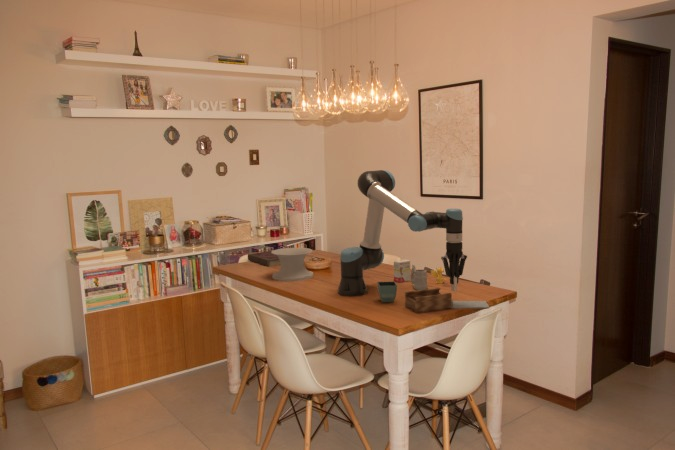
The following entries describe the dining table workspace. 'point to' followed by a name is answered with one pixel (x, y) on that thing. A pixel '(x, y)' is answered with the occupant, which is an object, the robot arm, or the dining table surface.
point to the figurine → (438, 275)
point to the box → (427, 300)
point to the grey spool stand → (292, 264)
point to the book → (264, 258)
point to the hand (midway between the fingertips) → (454, 290)
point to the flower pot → (387, 291)
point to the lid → (469, 304)
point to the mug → (419, 278)
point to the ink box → (401, 270)
